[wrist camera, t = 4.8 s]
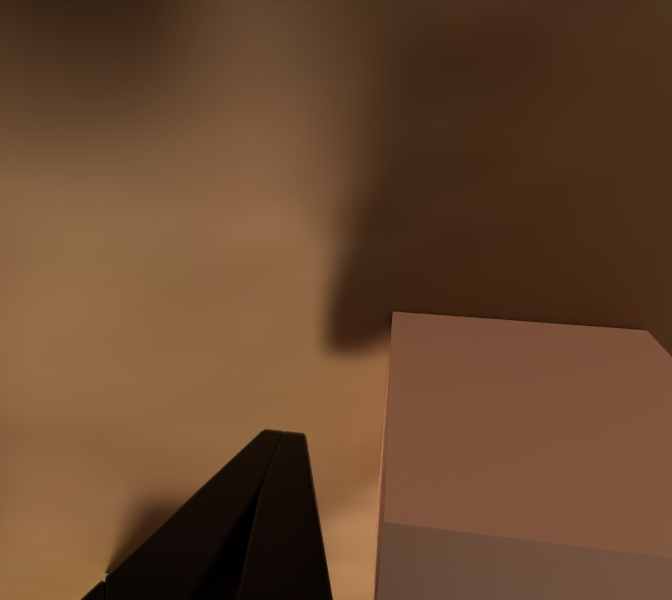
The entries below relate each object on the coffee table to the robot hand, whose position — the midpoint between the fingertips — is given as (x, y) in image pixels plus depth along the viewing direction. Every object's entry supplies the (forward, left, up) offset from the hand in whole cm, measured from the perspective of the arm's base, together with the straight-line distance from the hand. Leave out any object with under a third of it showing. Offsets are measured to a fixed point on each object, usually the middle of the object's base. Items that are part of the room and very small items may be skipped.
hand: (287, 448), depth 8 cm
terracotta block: (0, -4, -2) cm, 4 cm away
